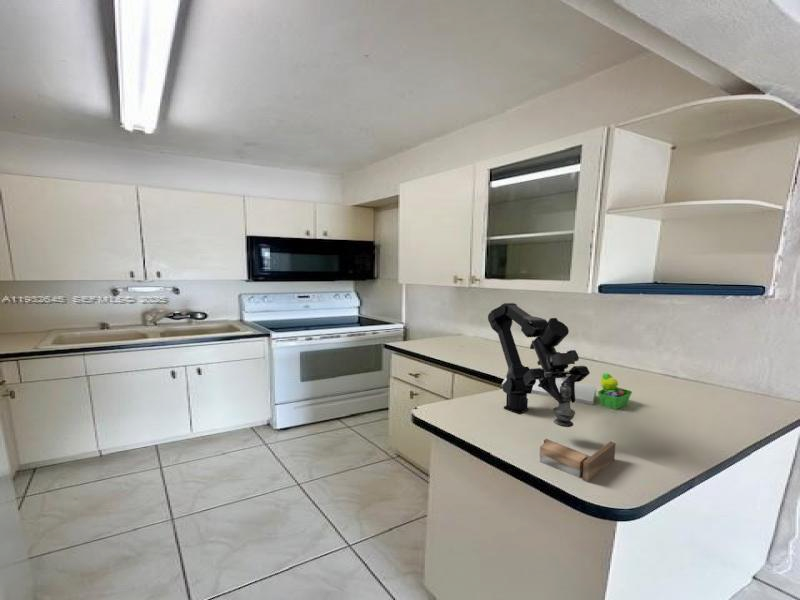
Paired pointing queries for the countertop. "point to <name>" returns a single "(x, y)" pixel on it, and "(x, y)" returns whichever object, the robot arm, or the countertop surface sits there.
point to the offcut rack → (595, 460)
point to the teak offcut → (563, 455)
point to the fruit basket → (612, 393)
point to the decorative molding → (581, 391)
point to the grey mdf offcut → (561, 466)
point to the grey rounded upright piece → (564, 408)
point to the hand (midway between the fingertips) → (567, 402)
